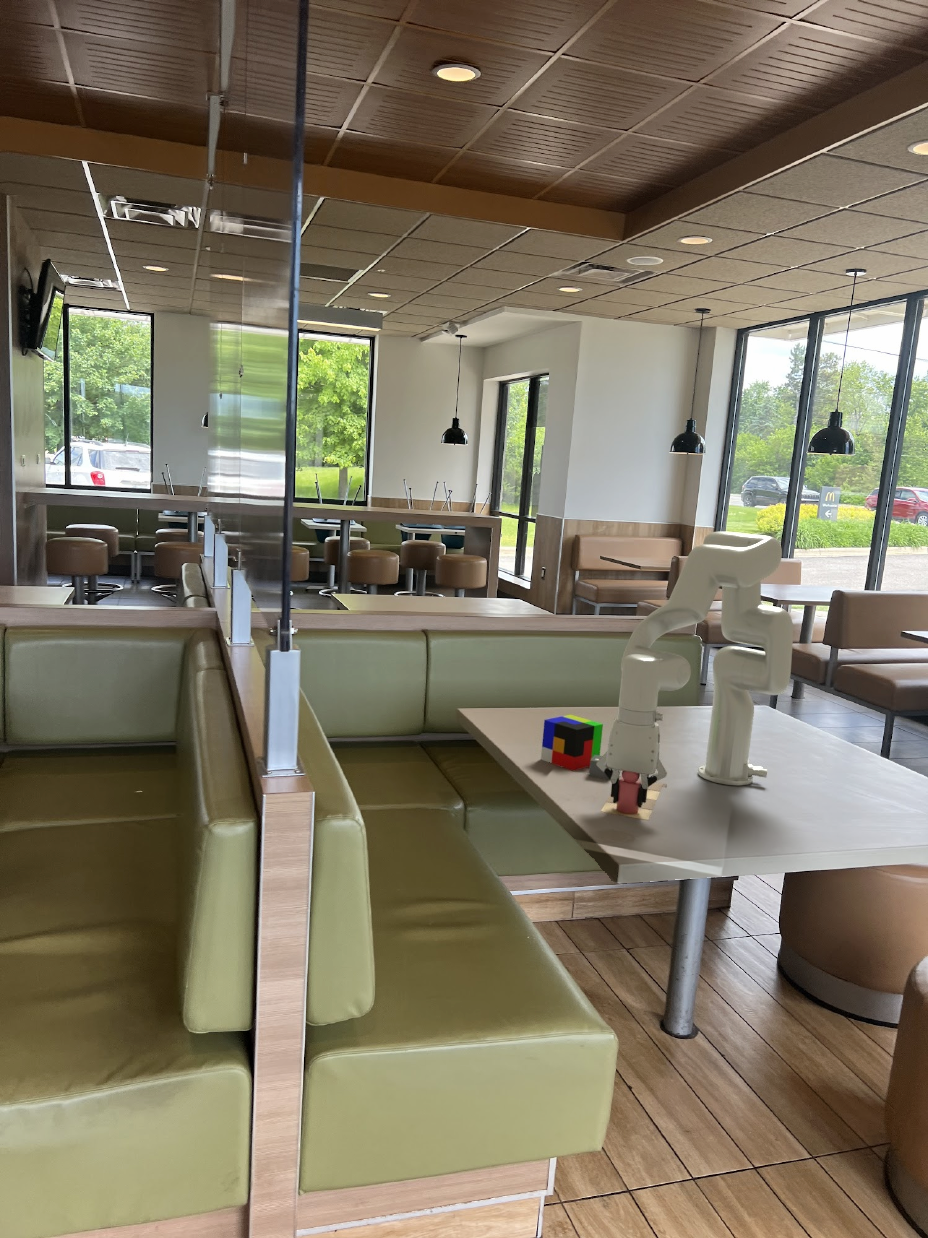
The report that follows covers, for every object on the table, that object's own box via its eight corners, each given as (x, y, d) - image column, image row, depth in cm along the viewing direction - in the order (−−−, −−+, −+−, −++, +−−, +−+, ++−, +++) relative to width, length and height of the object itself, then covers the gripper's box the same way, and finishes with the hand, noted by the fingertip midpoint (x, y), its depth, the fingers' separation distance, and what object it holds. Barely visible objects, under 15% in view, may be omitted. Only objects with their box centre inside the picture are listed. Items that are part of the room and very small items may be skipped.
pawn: (639, 808, 188) (644, 764, 187) (636, 815, 184) (641, 770, 182) (618, 804, 189) (622, 761, 188) (614, 811, 185) (619, 767, 184)
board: (666, 788, 207) (666, 783, 207) (650, 827, 182) (651, 822, 181) (617, 780, 210) (618, 774, 210) (596, 817, 185) (596, 811, 185)
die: (613, 779, 211) (616, 757, 210) (610, 785, 206) (612, 763, 206) (592, 775, 213) (594, 754, 212) (588, 781, 208) (590, 760, 207)
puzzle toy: (540, 759, 222) (544, 719, 220) (566, 753, 229) (570, 714, 227) (573, 771, 215) (577, 729, 213) (598, 764, 222) (602, 724, 220)
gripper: (681, 718, 185) (671, 804, 187) (598, 706, 190) (590, 790, 193) (677, 727, 178) (667, 816, 180) (591, 714, 183) (583, 801, 186)
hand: (628, 802), depth 186 cm, fingers closed on pawn, 4 cm apart
